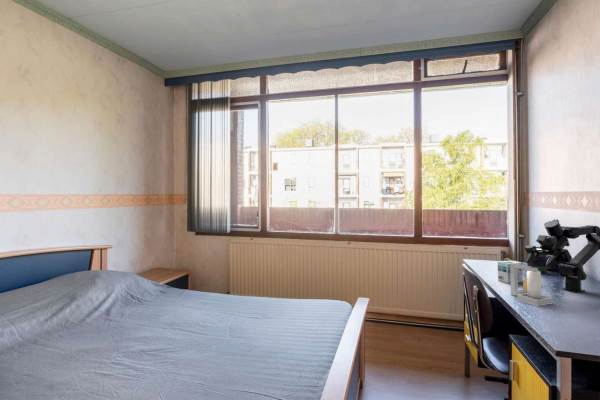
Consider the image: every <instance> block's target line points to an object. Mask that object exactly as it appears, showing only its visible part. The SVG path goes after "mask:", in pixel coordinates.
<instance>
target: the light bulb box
mask: <svg viewBox="0 0 600 400" xmlns="http://www.w3.org/2000/svg"><path fill="white" fill-rule="evenodd" d="M510 263H516V264H520V265H523V262H521V261H517V260H505V261H504V260H503V261H501V260H500V261H497V281H498V282H502V283H505V284H511V277H510ZM517 274H518V283H523V280H524V279H523V269H520V268H517Z"/></svg>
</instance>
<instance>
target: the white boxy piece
mask: <svg viewBox="0 0 600 400" xmlns="http://www.w3.org/2000/svg"><path fill="white" fill-rule="evenodd" d="M517 268H520V269H522V270H525V271H527V270H529V271H534V272H536V271H538V268H535V267H530V266H527V265H525V264H524V265H523V264H522V265H520V264H516V263H510V277H511V283H510V295H512V296H516V297H517V294H523V293H527V278H526V279H523V282H522V289H521V290H519V282H518V274H517Z"/></svg>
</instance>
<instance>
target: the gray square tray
mask: <svg viewBox="0 0 600 400" xmlns="http://www.w3.org/2000/svg"><path fill="white" fill-rule="evenodd" d="M525 296H527V293H523V294H517V295H516V300H517V301H519V302H522V303H525V304H529V305H531V304H532V306H534V305H535V306H534V307H541V305H542V306H547V304H548V305H552V304H553V302H554V301H553V297H544V298H543V299H538V300H536V299H532V298H529V297H525Z"/></svg>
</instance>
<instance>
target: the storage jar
mask: <svg viewBox="0 0 600 400" xmlns="http://www.w3.org/2000/svg"><path fill="white" fill-rule="evenodd" d="M536 248H537V249H542V248H540V246H536ZM526 257H527V258H528V254H527V253H526ZM547 258H548V256H546V255H544V254H540V255H539V257H538V258H537V259H536V260H534V261H532V262H530V263H527V262H526V266H530V267H535V268H538V271H540V272H541V275H547V274H548V267H547V265H546V264H547Z"/></svg>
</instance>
